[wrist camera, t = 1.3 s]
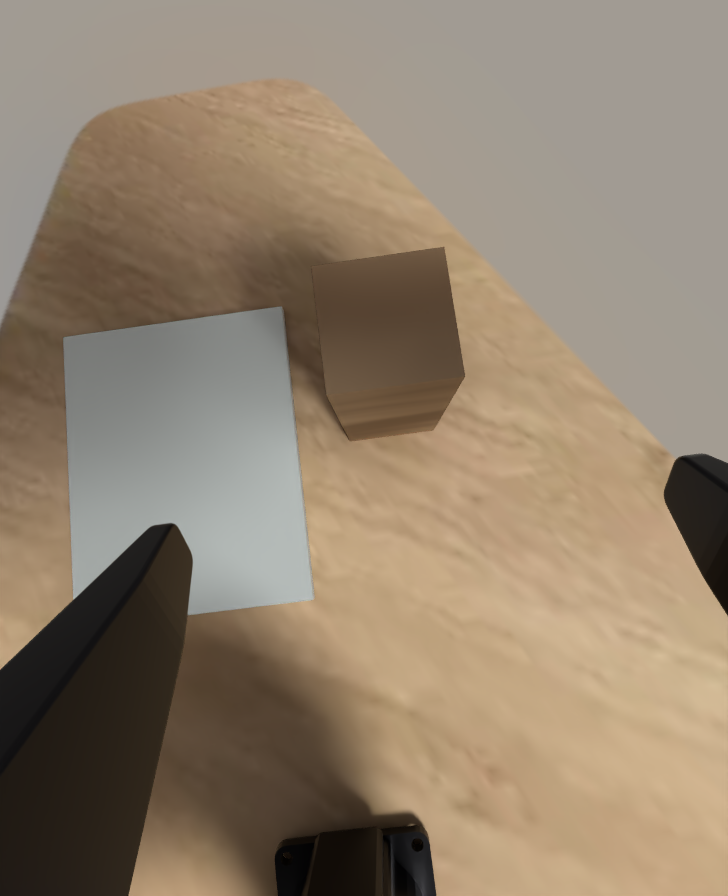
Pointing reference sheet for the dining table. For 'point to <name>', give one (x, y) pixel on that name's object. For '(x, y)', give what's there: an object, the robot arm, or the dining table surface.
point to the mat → (190, 454)
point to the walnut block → (388, 341)
